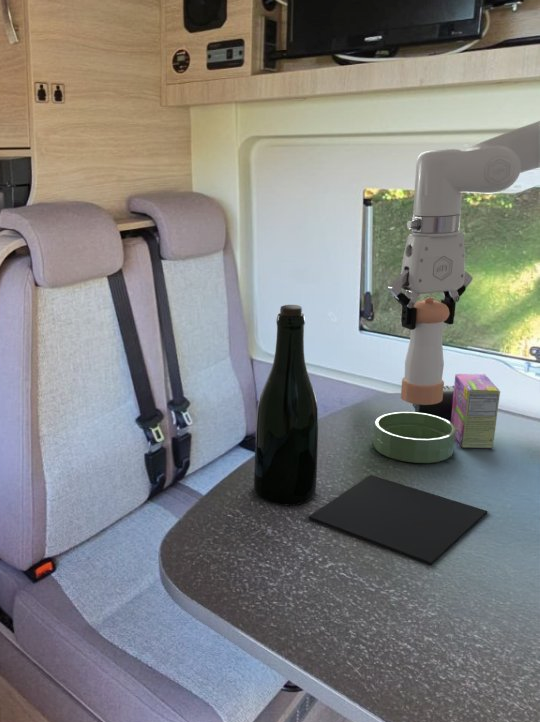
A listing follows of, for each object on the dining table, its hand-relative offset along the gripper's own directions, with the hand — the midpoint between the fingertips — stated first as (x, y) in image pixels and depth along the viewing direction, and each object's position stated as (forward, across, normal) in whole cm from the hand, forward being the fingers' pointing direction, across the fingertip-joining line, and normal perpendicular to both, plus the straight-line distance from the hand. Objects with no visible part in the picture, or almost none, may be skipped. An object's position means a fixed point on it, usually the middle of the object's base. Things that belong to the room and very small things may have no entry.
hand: (427, 324), depth 130 cm
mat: (+25, -18, -21) cm, 37 cm away
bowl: (+25, -1, 0) cm, 25 cm away
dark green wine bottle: (+24, -32, -8) cm, 41 cm away
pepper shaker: (+14, 0, 0) cm, 14 cm away
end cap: (+25, +13, +12) cm, 31 cm away
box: (+25, +13, +1) cm, 28 cm away
